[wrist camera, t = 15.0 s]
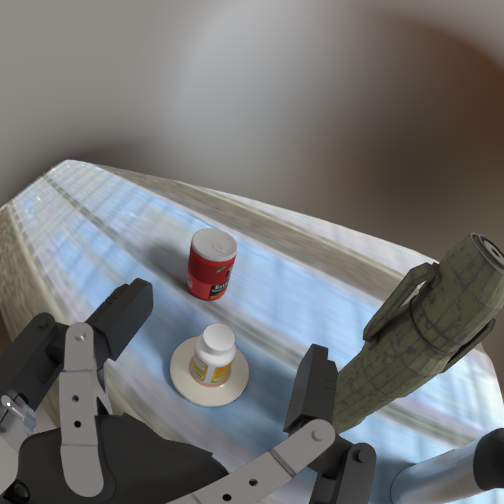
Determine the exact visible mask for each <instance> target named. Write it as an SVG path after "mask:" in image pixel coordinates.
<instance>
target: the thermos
mask: <svg viewBox="0 0 504 504" xmlns="http://www.w3.org/2000/svg"><path fill="white" fill-rule="evenodd" d="M424 281H426V282H425V283H424V284H423V285H422V287H421V288H420V289H419V293H418V295H415V296H414V297H413V298H412V299H411V300H410V301H409V302H408V303H407V304H405V305H403V306H401V305H402V304H403V303H404V302H405V301H406V299H407V298H408V297H409V296H410V295H411V293H412V292H413V291H414V290H415V288H416V287H417V286H418V285H419V284H421V283H422V282H424ZM503 304H504V254H503V252H502V251H501V250H500V249H499V248H498V247H497V246H496V245H495V244H494V243H493V242H492V241H491V240H490V239H488V238H487V237H486V236H484V235H482V234H476V233H473V232H471V233H470V234H469V235H467V236H466V237H464V238H463V239H462V240H461V241H459V242H458V243H457V244H455V245H454V246H453V247H452V248H451V249H450V250H449V251H448V252H447V253H446V255H445V256H444V258H443V259H442V260H441V262H440V263H439V264H437V263H435V262H434V263H433V264H432V265H431V264H429V263H427V262H426V263H424V264H421V265H419V266H417V267H414V268H412V269H410V271H409V272H408V273H407V275H406V276H405V277H404V279H403V280H402V281H401V283H400V284H399V285H398V286H397V288H396V289H395V290H394V292H393V293H392V294H391V295H390V297H389V298H388V299H387V300H386V302H385V303H384V304H383V305H382V306H381V308H380V309H379V310H378V311H377V312H376V314H375V315H374V316H373V317H372V319H371V320H370V321H369V323H368V324H367V325H366V327H365V328H364V331H363V340H365V344H364V346H363V348H362V351H361V352H360V353H359V354H358V355H357V356H356V357H354V358H353V359H352V360H351V361H350V362H349V363H348V364H347V365H346V366H345V367H344V368H343V369H342V370H340V371H339V372H338V376H337V383H336V384H337V386H336V391H335V392H336V395H335V403H334V411H333V418H332V424H333V428H334V430H335V432H336V433H337V434H340V433H342V432H344V431H346V430H349V429H351V428H353V427H355V426H357V425H359V424H360V423H361V422H362V421H363V420H364V419H365V418H366V416H368V415H370V414H372V413H373V412H375V411H377V410H378V409H380V408H382V407H383V406H385V405H387V404H388V403H390V402H392V401H393V400H395V399H396V398H401V397H406V396H407V395H409V394H410V393H412V392H413V391H415V390H416V389H418V388H419V387H421V386H422V385H424V384H425V383H426V382H428V381H429V380H431V379H432V378H433V377H435V376H436V375H437V374H440V373H444V372H445V371H446V370H448V369H449V368H450V367H451V366H453V365H454V364H455V363H456V362H457V361H459V360H460V359H461V358H462V357H463V356H465V355H466V354H467V353H468V352H469V351H470V350H472V349H473V348H474V347H475V346H476V345H477V344H478V343H479V342H480V341H482V340H483V338H485V337H486V336H487V335H488V334H489V333H490V332H491V331H492V329H493V327H494V323H495V321H496V318H495V314H496V313H497V312H498V311H499V310H500V309H501V308H502V306H503ZM400 306H401V307H400Z"/></svg>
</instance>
